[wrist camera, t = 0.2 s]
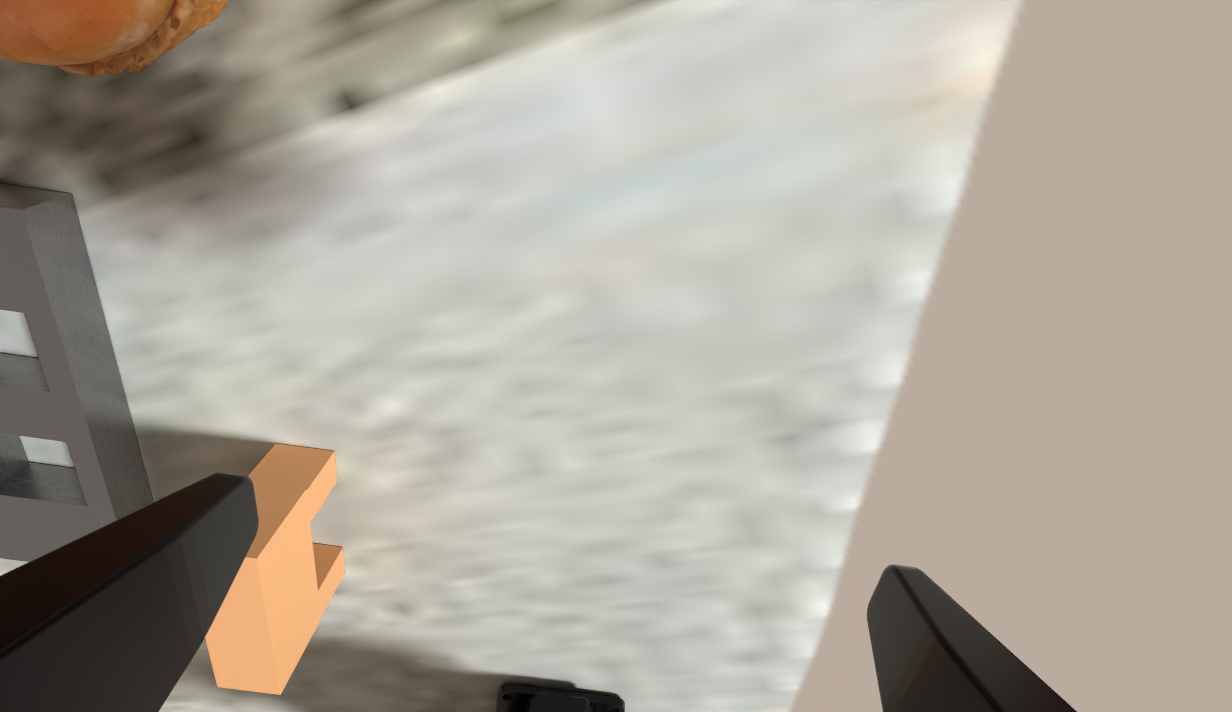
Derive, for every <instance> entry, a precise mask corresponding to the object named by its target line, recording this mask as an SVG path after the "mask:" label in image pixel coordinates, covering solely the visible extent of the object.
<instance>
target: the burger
mask: <svg viewBox="0 0 1232 712" xmlns="http://www.w3.org/2000/svg"><path fill="white" fill-rule="evenodd" d="M227 2H228V0H0V58H3V59H7V60H12V61H18V62H23V63H32V64H42V65H48V66H51V65H53V66H56V67H58V68H60V69H62V70H64V71H67V72H69V73H74V74H84V75H87V76H92V77H98V76H103V74H104V73H109V74H114V75H118V74H120V73H121V72H123V71H124V70H126V71H127V72H128V73H130V72H135V71H136V72H142V71H141V69H142V68H145V67H147V66H149V65H150V64H151V63H152V62H154V61H155V60H156V59H157V58H159V57H160V56H162V55H163V54H164V53H165V52H166V51H168V50H170V49H172V48H173V47H175V46H176V45H177V44H179V43H180V42H182V41H183V40H185V39H186V38H188V37H189V36H191V35H192V34H193V33H194V32H195V31H196V30H197V29H199V28H201V27H204V26H207V25H209V24H210V23H211V22H212V21H213V20H214V19H216V17H217V16H218V15H219V14H220V13H221V12H222V10H223V9H224V8H225V6H226V4H227Z"/></svg>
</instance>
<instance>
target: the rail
mask: <svg viewBox="0 0 1232 712" xmlns="http://www.w3.org/2000/svg"><path fill="white" fill-rule="evenodd" d="M0 309H1V310H8V311H15V312H23V313H24V314H25V317H26V320H27V323H28V326H29V329H30V332H31V335H32V338H33V341H34V344H35V347H36V350H37V353H38V356H39V358H32V357H25V356H18V355H10V354H3V353H0V558H3V559H11V560H19V561H27V562H30V561H32V560H35V559H37V558H39V557H41V556H43V555H45V554H47V553H49V552H51V551H53V550H55V549H58V548H60V547H62V546H64V545H66V544H68V543H70V542H72V541H74V540H76V539H78V538H81V537H83V536H85V535H87V534H89V533H91V532H93V531H95V530H97V529H99V528H101V527H104V526H106V525H108V524H110V523H112V522H114V521H116V520H118V519H120V518H122V517H124V516H127V515H129V514H131V513H133V512H135V511H137V510H139V509H141V508H143V507H145V506H147V505H150V504H152V503H154V502H153V498H152V495H151V491H150V487H149V483H148V480H147V476H146V472H145V468H144V464H143V461H142V457H141V453H140V449H139V446H138V442H137V438H136V434H135V430H134V427H133V423H132V419H131V415H130V412H129V408H128V404H127V400H126V397H125V393H124V389H123V385H122V381H121V378H120V374H119V370H118V366H117V363H116V359H115V355H114V351H113V347H112V344H111V340H110V336H109V332H108V329H107V325H106V321H105V317H104V313H103V310H102V306H101V302H100V298H99V295H98V291H97V287H96V283H95V280H94V276H93V272H92V268H91V264H90V261H89V257H88V253H87V249H86V246H85V242H84V238H83V234H82V230H81V227H80V223H79V219H78V215H77V212H76V208H75V204H74V200H73V196H72V194H70V193H63V192H56V191H49V190H42V189H36V188H29V187H22V186H15V185H8V184H1V183H0ZM19 436H27V437H34V438H41V439H49V440H56V441H64V442H67V445H68V448H69V451H70V454H71V457H72V460H73V463H74V466H75V468H69V467H61V466H54V465H46V464H39V463H31V462H28V459H27V457H26V454H25V451H24V448H23V446H22V443H21V440H20V438H19Z"/></svg>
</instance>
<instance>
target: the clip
mask: <svg viewBox="0 0 1232 712" xmlns="http://www.w3.org/2000/svg"><path fill="white" fill-rule="evenodd" d="M248 477H250V478H251V480H252V481H253V485H254V490H255V497H256V503H257V510H258V516H259V527H258V531H257V534H256V537H255V539H254V541H253V543H252V545H251V547H250V549H249V551H248V553H247V555H246V557H245V559H244V561H243V563H242V565H241V567H240V569H239V571H238V573H237V575H236V577H235V579H234V581H233V583H232V585H231V587H230V589H229V591H228V593H227V595H226V597H225V599H224V601H223V603H222V605H221V607H220V609H219V611H218V613H217V615H216V617H215V619H214V621H213V623H212V625H211V627H210V629H209V631H208V633H207V634H206V636H205V639H206V643H207V647H208V651H209V655H210V659H211V664H212V668H213V672H214V676H215V680H216V684H217V687H221V688H229V689H237V690H245V691H253V692H261V693H269V694H277V695H281V693H282V691H283V690H284V688H285V686H286V684H287V682H288V680H289V678H290V676H291V675H292V673H293V671H294V669H295V667H296V665H297V663H298V662H299V660H300V658H301V656H302V654H303V652H304V650H305V648H306V647H307V645H308V643H309V641H310V639H311V637H312V635H313V633H314V632H315V630H316V628H317V626H318V624H319V622H320V620H321V617H322V615H323V613H324V611H325V609H326V607H327V605H328V603H329V602H330V600H331V598H332V596H333V594H334V592H335V590H336V589H337V587H338V585H339V583H340V581H341V579H342V577H343V575H344V574H345V566H344V554H343V547H337V546H330V545H322V544H314V543H312V535H311V527H310V522H311V521H312V519H313V518H314V516H315V515H316V513H317V512H318V510H319V509H320V507H321V505H322V504H323V502H324V501H325V499H326V498H327V496H328V495H329V493H330V492H331V490H332V489H333V487H334V486H335V484H336V483H337V474H336V463H335V451H328V450H321V449H314V448H306V447H299V446H292V445H284V444H277V443H276V444H275V445H274V446H273V447H272V449H271V450H270V451H269V452H268V453H267V454H266V456H265V457H264V458H263V459H262V460H261V461H260V463H259V464H258V465H257V466H256V467H255V468H254V470H253V471H252V472H251V473H250V474H249V475H248Z"/></svg>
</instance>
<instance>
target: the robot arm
mask: <svg viewBox="0 0 1232 712" xmlns="http://www.w3.org/2000/svg"><path fill="white" fill-rule="evenodd" d="M258 527H259V516H258V510H257V503H256V497H255V490H254V485H253V481H252V480H251V478H250V477H248V476H246V475H242V474H235V473H227V472H218V473H215V474H212V475H210V476H208V477H206V478H204V479H202V480H200V481H198V482H196V483H193V484H191V485H189V486H187V487H185V488H183V489H181V490H179V491H177V492H175V493H173V494H170V495H168V496H166V497H164V498H162V499H160V500H158V501H156V502H154V503H152V504H150V505H147V506H145V507H143V508H141V509H139V510H137V511H135V512H133V513H131V514H129V515H127V516H124V517H122V518H120V519H118V520H116V521H114V522H112V523H110V524H108V525H106V526H104V527H101V528H99V529H97V530H95V531H93V532H91V533H89V534H87V535H85V536H83V537H81V538H78V539H76V540H74V541H72V542H70V543H68V544H66V545H64V546H62V547H60V548H58V549H55V550H53V551H51V552H49V553H47V554H45V555H43V556H41V557H39V558H37V559H35V560H32V561H30V562H28V563H26V564H24V565H22V566H20V567H18V568H16V569H14V570H12V571H9V572H7V573H5V574H3V575H1V576H0V712H158V711H159V710H160V708H161V707H162V705H163V704H164V702H165V700H166V699H167V697H168V696H169V694H170V693H171V691H172V689H173V688H174V686H175V685H176V683H177V682H178V680H179V678H180V677H181V675H182V674H183V672H184V671H185V669H186V667H187V666H188V664H189V663H190V661H191V660H192V658H193V656H194V655H195V653H196V651H197V650H198V648H199V647H200V645H201V643H202V642H203V640H204V638H205V636H206V634H207V633H208V631H209V629H210V627H211V625H212V623H213V621H214V619H215V617H216V615H217V613H218V611H219V609H220V607H221V605H222V603H223V601H224V599H225V597H226V595H227V593H228V591H229V589H230V587H231V585H232V583H233V581H234V579H235V577H236V575H237V573H238V571H239V569H240V567H241V565H242V563H243V561H244V559H245V557H246V555H247V553H248V551H249V549H250V547H251V545H252V543H253V541H254V539H255V537H256V534H257V531H258ZM867 621H868V628H869V633H870V639H871V644H872V651H873V657H874V662H875V668H876V674H877V679H878V686H879V691H880V697H881V703H882V709H883V712H1077V711H1076V710H1074V709H1073V708H1072V707H1071V706H1070V705H1069V704H1068V703H1067V702H1066V701H1065V700H1063V699H1062V698H1061V697H1060V696H1059V695H1058V694H1057V693H1056V692H1055V691H1054V690H1052V689H1051V688H1050V687H1049V686H1048V685H1047V684H1046V683H1045V682H1044V681H1043V680H1041V679H1040V678H1039V677H1038V676H1037V675H1036V674H1035V673H1034V672H1032V670H1030V669H1029V668H1028V667H1027V666H1026V665H1025V664H1024V663H1023V662H1022V661H1020V660H1019V659H1018V658H1017V657H1016V656H1015V655H1014V654H1013V653H1012V652H1011V651H1010V650H1008V649H1007V648H1006V647H1005V646H1004V645H1003V644H1002V643H1001V642H1000V641H999V640H997V639H996V638H995V637H994V636H993V635H992V634H991V633H990V632H988V631H987V630H986V629H985V628H984V627H983V626H982V625H981V624H980V623H979V622H978V621H976V620H975V619H974V618H973V617H972V616H971V615H970V614H969V613H968V612H967V611H965V610H964V609H963V608H962V607H961V606H960V605H959V604H958V603H957V602H956V601H954V600H953V599H952V598H951V597H950V596H949V595H948V594H947V593H946V592H945V591H943V590H942V589H941V588H940V587H939V586H938V585H937V584H936V583H935V582H933V581H932V580H931V579H930V578H929V577H928V576H927V575H926V574H925V573H924V572H922V571H921V570H920V569H918V568H915V567H908V566H901V565H889V566H887V568H885V570H884V571H883V573H882V575H881V578H880V580H879V582H878V584H877V586H876V588H875V591H874V593H873V595H872V597H871V599H870V601H869V604H868V609H867ZM496 712H625V702H624V701H623V700H622V699H620V698H617V697H609V696H601V695H593V694H585V693H577V692H569V691H562V690H554V689H546V688H538V687H530V686H522V685H514V684H504V685H502V686H500V688H499V692H498V697H497V710H496Z"/></svg>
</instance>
